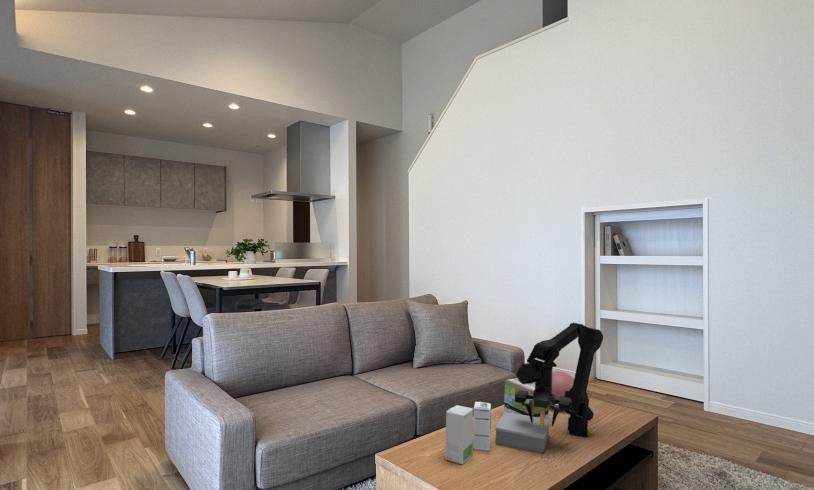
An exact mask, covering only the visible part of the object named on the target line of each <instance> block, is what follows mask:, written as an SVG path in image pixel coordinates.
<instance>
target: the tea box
mask: <svg viewBox="0 0 814 490" xmlns="http://www.w3.org/2000/svg"><path fill="white" fill-rule="evenodd" d="M518 390H522V391H528V395H533V394H534V390H535V382H534V383H529V384H522V383H520V381H519V380H518V378H517V377H515V378H514V377H513V378H509V379H505V380H504V396H503V397H504V398H503V399H504V400H503V401H504V402H503V406H504V407H503V413H504V412H509V413H515V414H521V415H526V416H529V413H528V411H527V408H526V407H525V406H524V405H522V403H519V402H515V394H516V393H517V391H518ZM532 404H533V401H532ZM549 406H550V405H548V408H546V409H545V408H542V407H535V406H534V405H533V417H538V418H540V413H541V411H544V412H545V419H549V412H550V411H549V409H550V407H549Z"/></svg>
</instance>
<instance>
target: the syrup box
mask: <svg viewBox="0 0 814 490" xmlns="http://www.w3.org/2000/svg"><path fill="white" fill-rule="evenodd" d="M491 432H492V403H490V402H486V401H474V404H473V437H472V450H473V449H474V450H476V451H477V450H478V451H484V452H486V451H487V452H490V450H491V438H492V437H491V436H492V435H491V434H492V433H491Z"/></svg>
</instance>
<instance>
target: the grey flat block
mask: <svg viewBox="0 0 814 490" xmlns="http://www.w3.org/2000/svg"><path fill="white" fill-rule="evenodd" d="M549 425H550V424H549ZM549 425H548V428H547V432H546V435H545V439H541V438H535V437H530V436H525V435H520V434H515V433H509V432H504V431H499V430H495V445H497V446H502V447H507V448H512V449H516V450H517V449H518V450H523V451H526V452H530V453H532V452H533V453H537V454H540V455H541V454H543V455H544V452H545V449H546V446H547V442H548V439H549V428H550V426H549Z"/></svg>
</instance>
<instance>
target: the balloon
mask: <svg viewBox="0 0 814 490" xmlns="http://www.w3.org/2000/svg"><path fill="white" fill-rule="evenodd" d="M574 378H575V377H573V376H572V375H571V374H569V373H567V372H565V371H561V370H560V371H559V370H556V371H552V394H554V396H555V399H559V398H560V396H561V397H565V392H566V391H569V390H570V389H571V388H572V387H573V382H574ZM550 406H551V407H553V408H554V407H555V404H554V405H550Z"/></svg>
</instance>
